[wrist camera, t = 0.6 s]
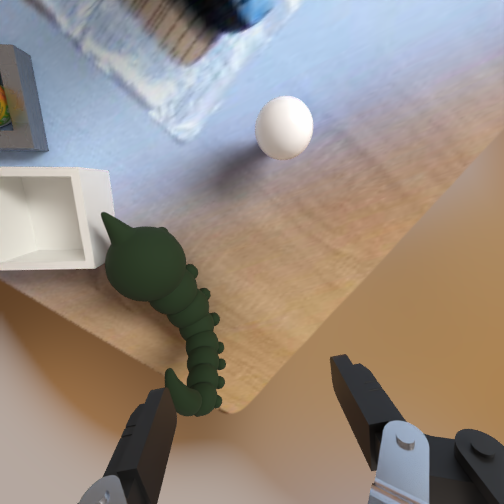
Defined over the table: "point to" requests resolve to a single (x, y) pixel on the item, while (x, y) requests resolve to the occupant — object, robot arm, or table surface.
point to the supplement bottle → (4, 108)
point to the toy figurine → (169, 306)
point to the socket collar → (21, 102)
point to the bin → (53, 217)
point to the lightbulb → (284, 127)
